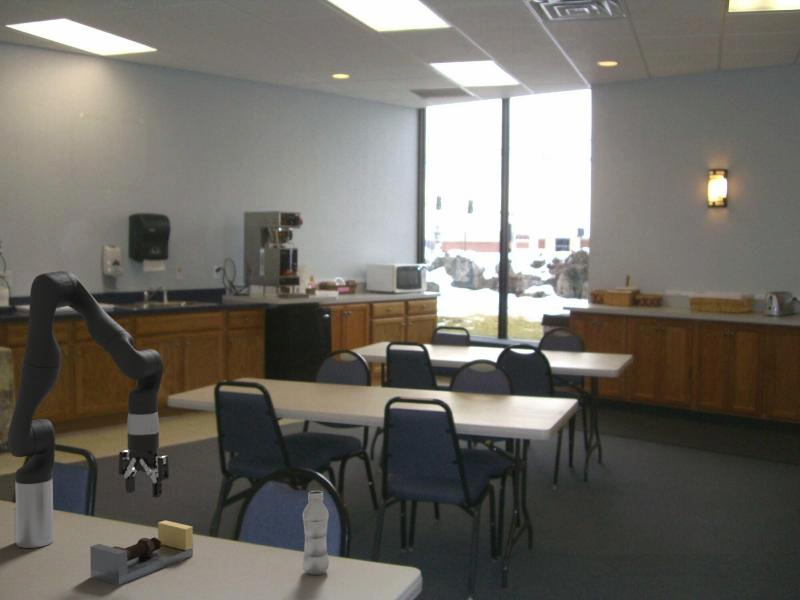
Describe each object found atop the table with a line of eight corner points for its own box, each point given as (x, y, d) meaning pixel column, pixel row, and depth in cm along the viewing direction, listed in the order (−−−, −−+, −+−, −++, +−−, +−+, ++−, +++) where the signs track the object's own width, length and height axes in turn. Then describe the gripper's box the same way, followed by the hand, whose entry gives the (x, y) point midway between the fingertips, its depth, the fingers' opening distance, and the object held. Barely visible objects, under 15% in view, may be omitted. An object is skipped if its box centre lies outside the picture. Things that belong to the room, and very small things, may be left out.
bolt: (159, 558, 224) (116, 575, 210) (146, 545, 226) (103, 561, 212) (168, 540, 222) (126, 556, 209) (155, 527, 224) (112, 543, 211)
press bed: (90, 577, 211) (90, 546, 211) (165, 548, 232) (165, 521, 231) (119, 585, 206) (118, 554, 205) (192, 556, 226) (192, 527, 226)
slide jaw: (158, 543, 229) (158, 522, 229) (165, 540, 231) (165, 520, 231) (185, 550, 224) (185, 529, 224) (192, 547, 226) (192, 526, 226)
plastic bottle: (333, 569, 217) (333, 490, 216) (321, 579, 211) (322, 497, 210) (309, 566, 219) (309, 488, 218) (297, 576, 213) (297, 495, 212)
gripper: (110, 430, 217) (111, 494, 218) (154, 436, 210) (155, 502, 211) (132, 425, 224) (133, 487, 224) (175, 430, 217) (176, 494, 218)
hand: (143, 494), depth 218 cm, fingers open, 8 cm apart
